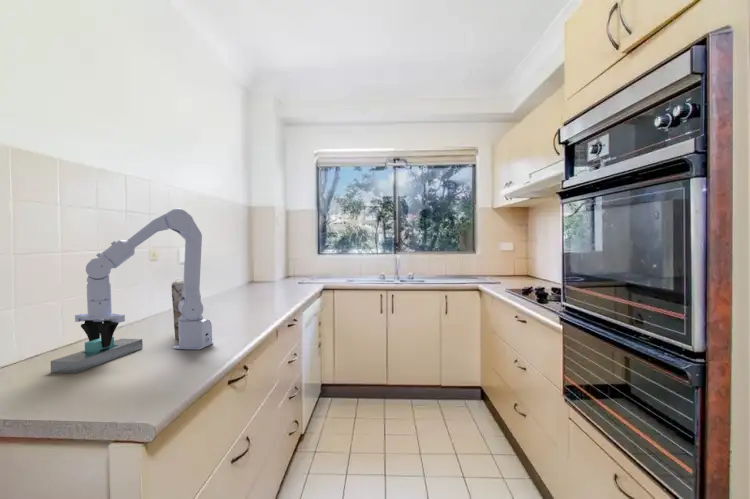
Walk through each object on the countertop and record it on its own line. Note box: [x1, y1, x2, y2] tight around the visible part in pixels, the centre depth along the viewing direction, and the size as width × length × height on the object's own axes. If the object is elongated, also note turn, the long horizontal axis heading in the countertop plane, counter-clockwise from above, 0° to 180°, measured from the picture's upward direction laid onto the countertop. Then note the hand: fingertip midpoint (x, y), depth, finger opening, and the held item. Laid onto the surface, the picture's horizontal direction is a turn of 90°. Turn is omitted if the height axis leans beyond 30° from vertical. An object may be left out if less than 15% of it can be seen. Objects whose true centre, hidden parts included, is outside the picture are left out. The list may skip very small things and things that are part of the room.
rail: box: [50, 338, 143, 374], centre depth 116 cm, size 7×24×3 cm, turn 171°
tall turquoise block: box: [84, 336, 115, 354], centre depth 116 cm, size 7×3×5 cm, turn 171°
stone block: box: [171, 278, 184, 340], centre depth 145 cm, size 13×7×20 cm, turn 25°
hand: (100, 346), depth 116 cm, fingers closed on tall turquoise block, 3 cm apart
